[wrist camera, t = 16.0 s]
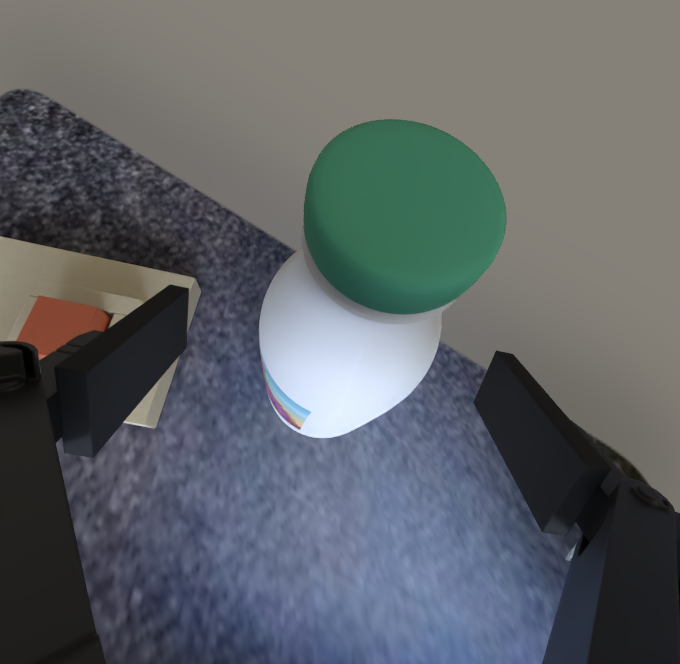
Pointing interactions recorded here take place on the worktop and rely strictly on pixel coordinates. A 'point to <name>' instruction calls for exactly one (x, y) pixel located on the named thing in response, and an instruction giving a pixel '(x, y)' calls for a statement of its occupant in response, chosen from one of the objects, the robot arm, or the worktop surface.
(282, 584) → the worktop surface
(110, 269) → the light switch
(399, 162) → the milk bottle
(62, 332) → the red switch button
